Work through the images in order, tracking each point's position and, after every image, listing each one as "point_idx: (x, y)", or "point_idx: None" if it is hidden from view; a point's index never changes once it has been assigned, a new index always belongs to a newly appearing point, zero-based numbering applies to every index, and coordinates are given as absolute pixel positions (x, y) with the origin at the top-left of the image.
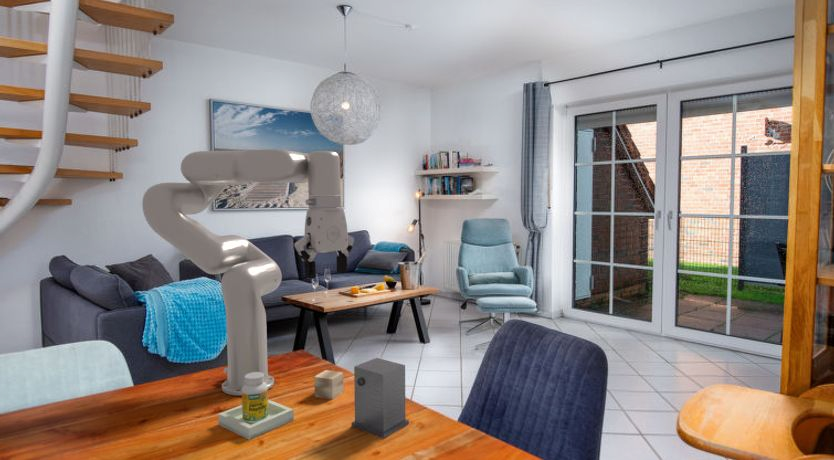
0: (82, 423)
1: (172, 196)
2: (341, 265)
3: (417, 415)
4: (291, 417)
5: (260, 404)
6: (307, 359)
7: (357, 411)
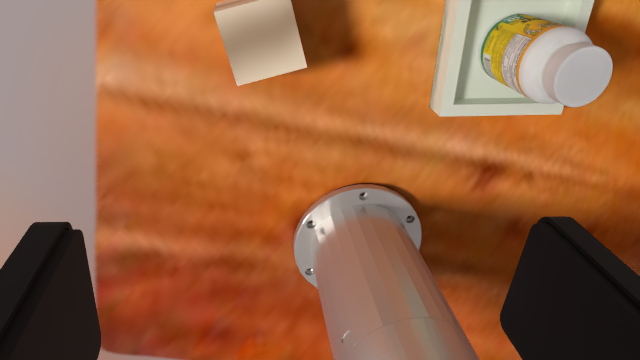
0: None
1: None
2: (58, 348)
3: None
4: None
5: (550, 21)
6: (117, 291)
7: None
